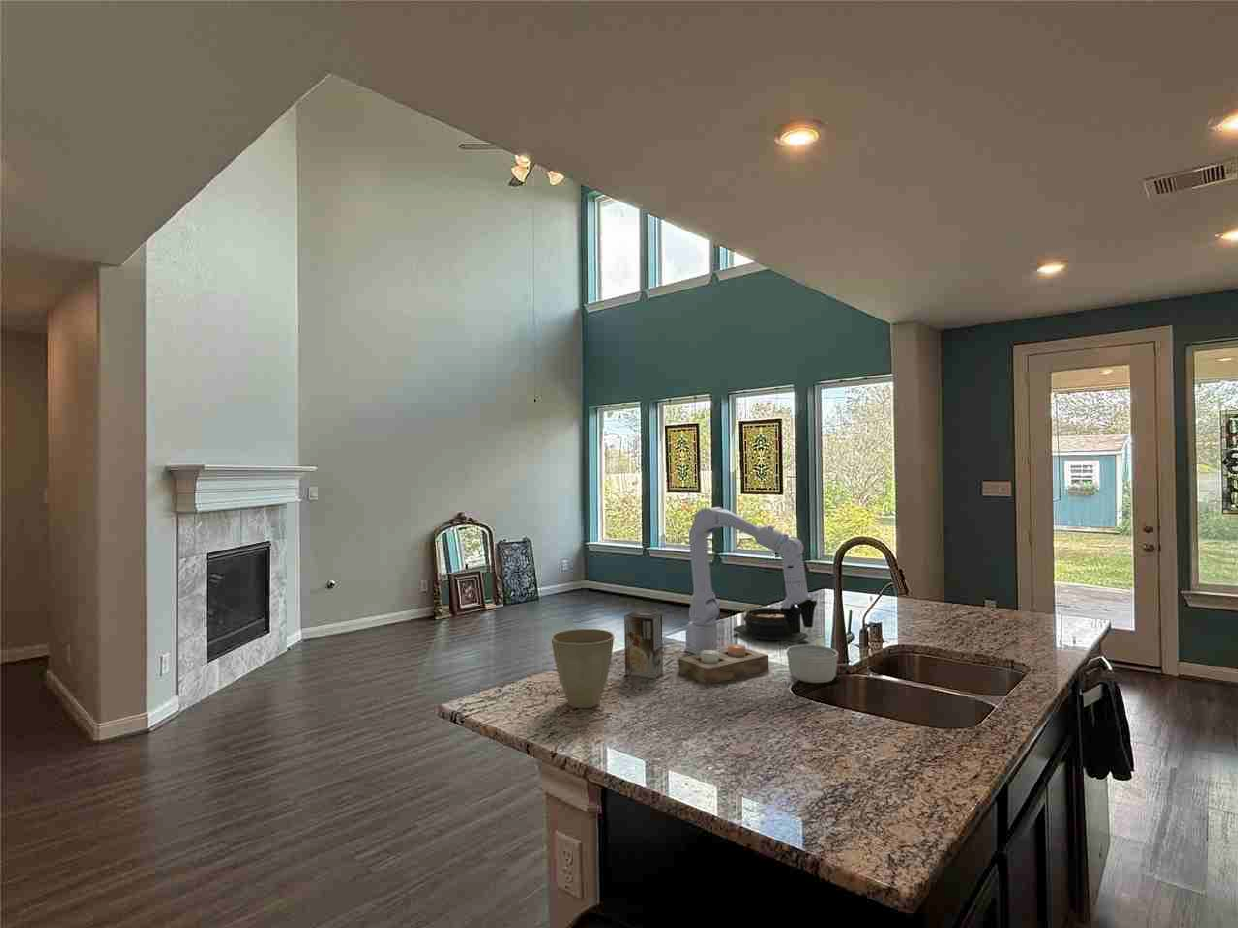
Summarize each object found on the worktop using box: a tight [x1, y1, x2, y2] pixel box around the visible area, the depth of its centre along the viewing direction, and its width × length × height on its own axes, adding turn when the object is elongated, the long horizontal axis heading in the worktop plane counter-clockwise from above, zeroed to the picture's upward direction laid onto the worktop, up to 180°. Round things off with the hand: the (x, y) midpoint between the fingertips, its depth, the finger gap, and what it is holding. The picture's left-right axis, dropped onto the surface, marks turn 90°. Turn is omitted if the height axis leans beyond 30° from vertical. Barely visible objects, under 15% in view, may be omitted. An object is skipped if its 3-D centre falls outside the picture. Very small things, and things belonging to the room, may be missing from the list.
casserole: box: [732, 607, 808, 643], centre depth 214 cm, size 25×19×8 cm
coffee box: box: [623, 610, 664, 680], centre depth 177 cm, size 9×6×16 cm
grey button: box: [701, 650, 719, 664], centre depth 176 cm, size 5×5×4 cm
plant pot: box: [550, 628, 615, 709], centre depth 155 cm, size 15×15×16 cm
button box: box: [677, 647, 769, 685], centre depth 178 cm, size 12×22×4 cm, turn 124°
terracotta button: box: [727, 643, 747, 658], centre depth 181 cm, size 5×5×4 cm
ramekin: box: [786, 644, 839, 684], centre depth 173 cm, size 13×13×7 cm
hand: (802, 629), depth 182 cm, fingers open, 7 cm apart
